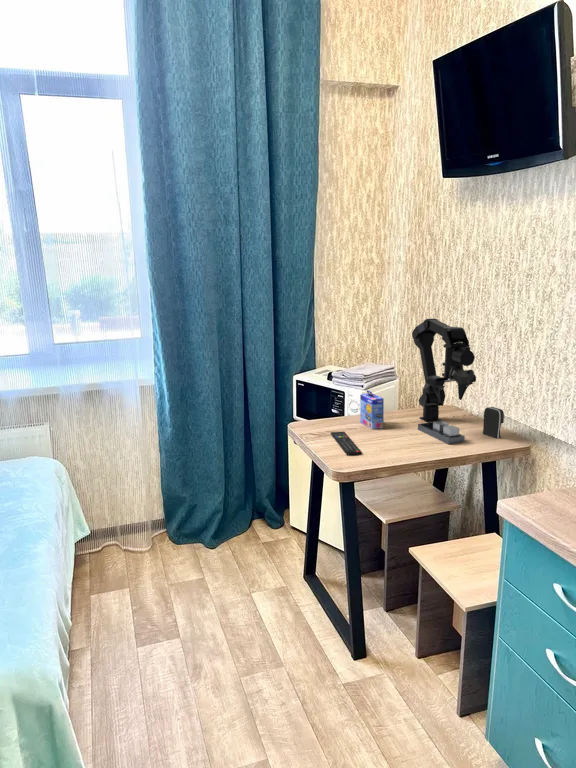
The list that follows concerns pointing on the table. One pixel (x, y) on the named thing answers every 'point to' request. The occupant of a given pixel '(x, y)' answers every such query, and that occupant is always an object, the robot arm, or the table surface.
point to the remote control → (346, 443)
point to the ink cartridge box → (371, 410)
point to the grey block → (439, 426)
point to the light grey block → (451, 431)
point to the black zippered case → (493, 421)
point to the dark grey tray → (439, 434)
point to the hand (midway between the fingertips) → (450, 400)
